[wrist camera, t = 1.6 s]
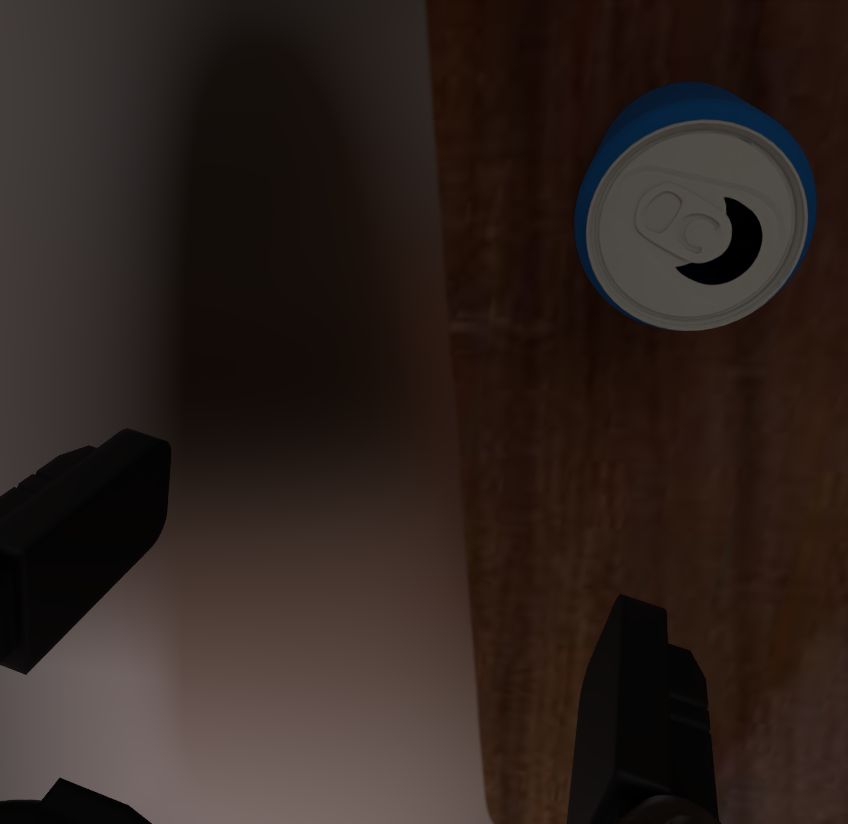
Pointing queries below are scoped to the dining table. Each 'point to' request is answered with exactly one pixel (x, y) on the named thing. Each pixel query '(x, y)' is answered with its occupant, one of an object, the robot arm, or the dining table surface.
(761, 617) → the dining table surface
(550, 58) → the dining table surface
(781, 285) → the beverage can
